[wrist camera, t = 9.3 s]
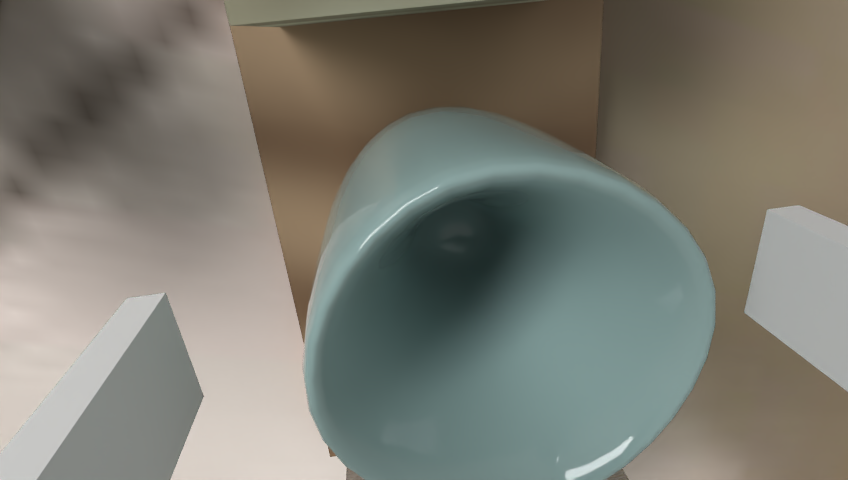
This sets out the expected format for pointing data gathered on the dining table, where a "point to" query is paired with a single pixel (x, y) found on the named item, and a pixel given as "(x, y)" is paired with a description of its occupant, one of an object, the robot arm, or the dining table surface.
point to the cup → (498, 307)
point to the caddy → (398, 87)
